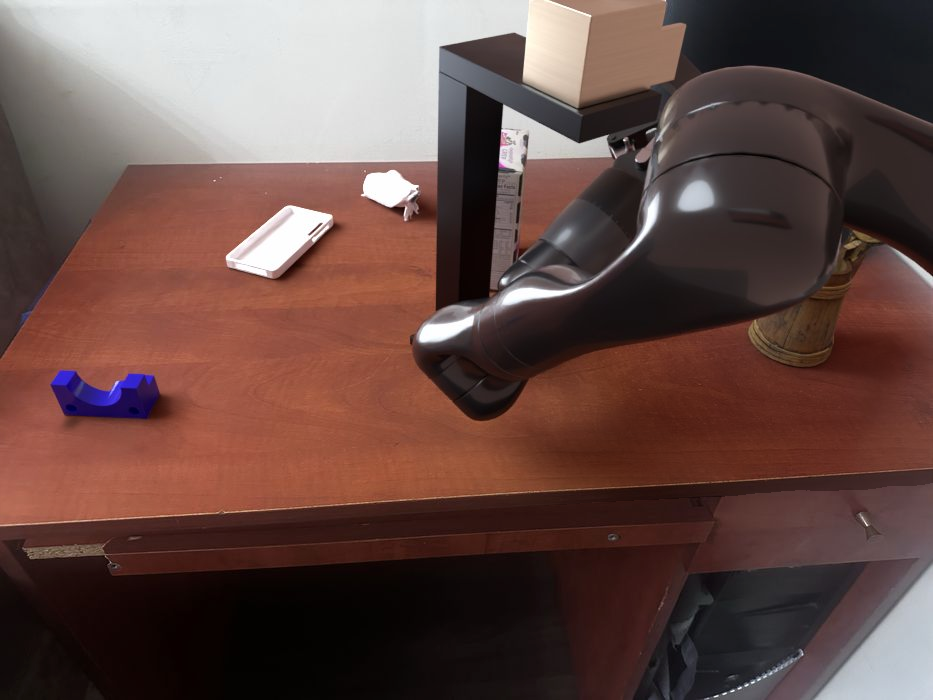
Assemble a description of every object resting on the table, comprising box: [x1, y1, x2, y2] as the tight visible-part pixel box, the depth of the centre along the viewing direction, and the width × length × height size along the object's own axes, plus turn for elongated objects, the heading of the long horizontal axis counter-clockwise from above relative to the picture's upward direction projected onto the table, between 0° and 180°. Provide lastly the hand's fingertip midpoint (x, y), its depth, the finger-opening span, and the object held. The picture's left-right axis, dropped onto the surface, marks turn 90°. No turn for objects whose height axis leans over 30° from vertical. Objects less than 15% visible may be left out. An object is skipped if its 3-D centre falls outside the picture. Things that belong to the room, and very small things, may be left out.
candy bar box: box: [490, 127, 530, 292], centre depth 86 cm, size 11×5×16 cm, turn 173°
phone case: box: [225, 205, 334, 280], centre depth 93 cm, size 7×1×15 cm
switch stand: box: [409, 0, 687, 346], centre depth 64 cm, size 13×19×38 cm
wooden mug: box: [747, 229, 886, 368], centre depth 76 cm, size 9×14×18 cm, turn 113°
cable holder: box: [50, 369, 161, 420], centre depth 68 cm, size 8×4×4 cm, turn 89°
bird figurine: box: [360, 169, 422, 222], centre depth 101 cm, size 5×7×10 cm
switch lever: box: [659, 51, 703, 96], centre depth 60 cm, size 20×3×3 cm
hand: (732, 102), depth 64 cm, fingers closed on switch lever, 2 cm apart
